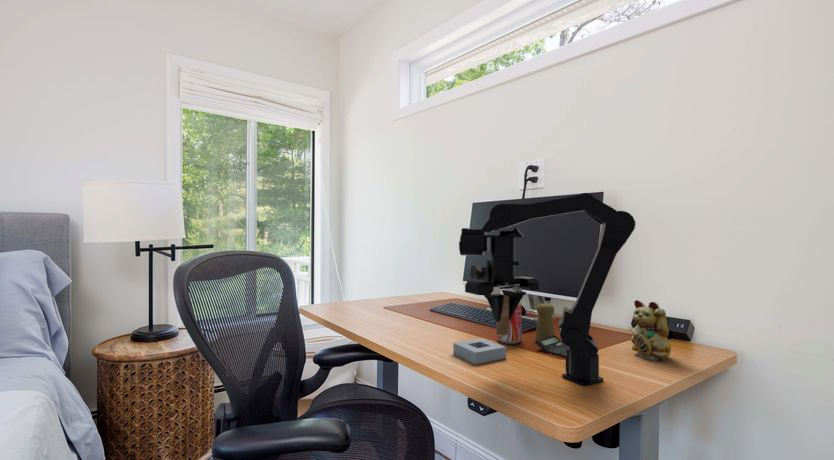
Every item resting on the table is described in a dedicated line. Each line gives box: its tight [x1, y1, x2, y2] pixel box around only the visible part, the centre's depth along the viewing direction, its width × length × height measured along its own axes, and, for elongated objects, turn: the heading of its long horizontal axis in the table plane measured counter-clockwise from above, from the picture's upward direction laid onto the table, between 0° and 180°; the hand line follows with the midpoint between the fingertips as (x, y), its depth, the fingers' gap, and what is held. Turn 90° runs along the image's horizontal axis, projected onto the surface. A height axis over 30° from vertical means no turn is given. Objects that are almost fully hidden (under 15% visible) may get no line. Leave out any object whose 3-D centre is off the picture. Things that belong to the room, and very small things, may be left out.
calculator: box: [534, 334, 570, 359], centre depth 113 cm, size 9×12×3 cm
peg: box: [495, 294, 509, 336], centre depth 97 cm, size 3×3×9 cm
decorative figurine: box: [630, 299, 672, 362], centre depth 108 cm, size 10×8×15 cm
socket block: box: [452, 337, 507, 365], centre depth 109 cm, size 10×10×3 cm
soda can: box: [497, 301, 523, 345], centre depth 123 cm, size 7×7×13 cm
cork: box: [535, 303, 556, 341], centre depth 125 cm, size 6×6×11 cm
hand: (502, 321), depth 97 cm, fingers closed on peg, 3 cm apart
